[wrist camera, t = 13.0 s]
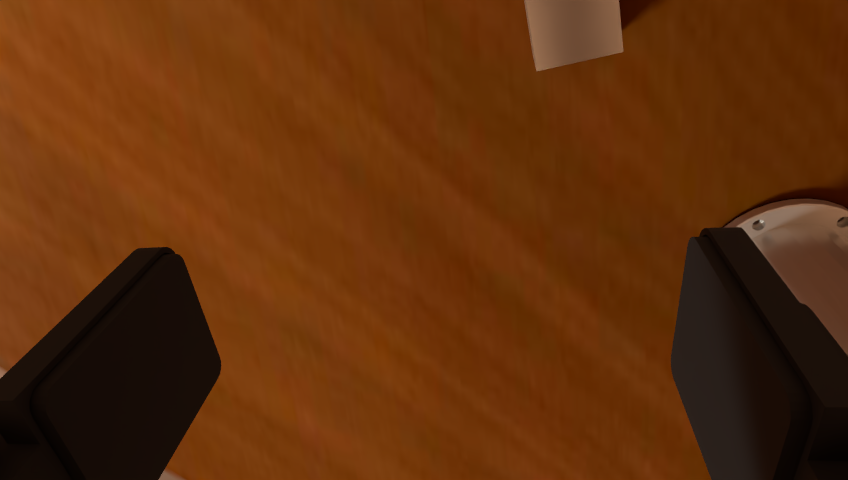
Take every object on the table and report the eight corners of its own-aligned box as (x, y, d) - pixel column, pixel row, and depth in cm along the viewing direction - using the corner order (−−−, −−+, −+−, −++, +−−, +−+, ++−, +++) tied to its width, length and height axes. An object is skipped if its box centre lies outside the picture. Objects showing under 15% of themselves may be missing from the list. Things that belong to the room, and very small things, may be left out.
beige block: (603, -47, 34) (615, -42, 31) (611, 37, 36) (623, 52, 33) (520, -25, 35) (522, -17, 32) (532, 56, 37) (536, 71, 34)
